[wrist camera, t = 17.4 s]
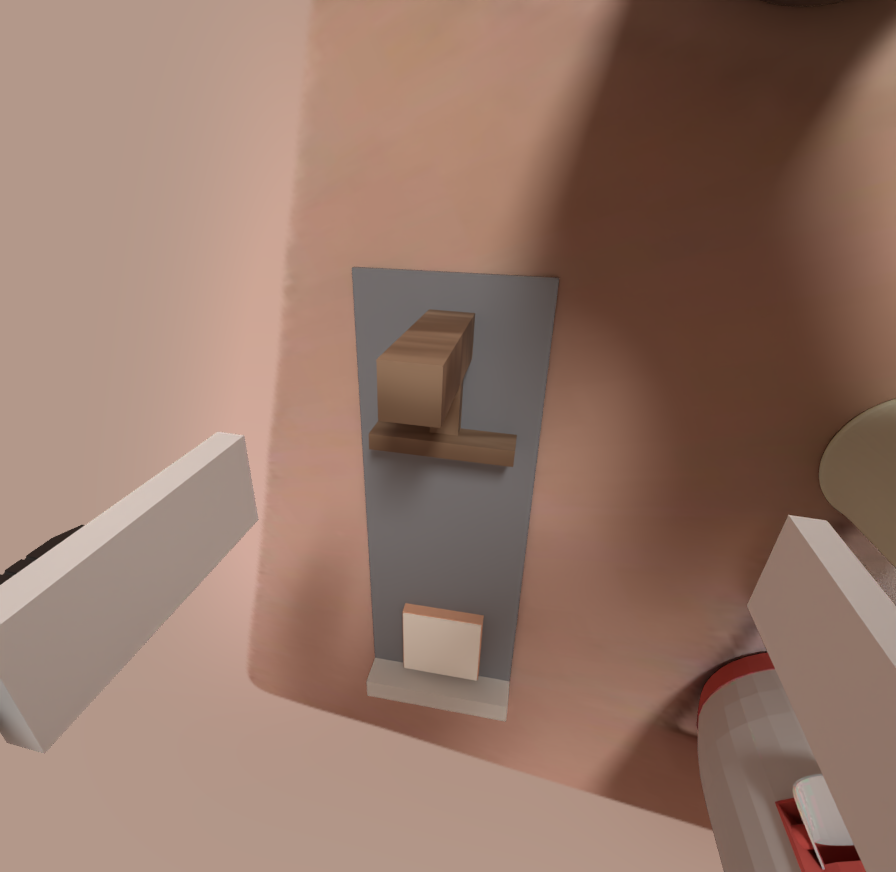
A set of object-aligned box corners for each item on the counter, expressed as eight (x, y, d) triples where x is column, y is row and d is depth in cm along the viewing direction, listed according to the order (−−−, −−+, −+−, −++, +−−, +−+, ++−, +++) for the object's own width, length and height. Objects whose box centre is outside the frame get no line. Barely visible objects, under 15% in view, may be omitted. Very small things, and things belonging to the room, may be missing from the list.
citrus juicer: (865, 593, 35) (1195, 998, 17) (897, 745, 40) (1170, 1168, 23) (644, 634, 40) (723, 976, 22) (700, 763, 46) (798, 1118, 28)
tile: (405, 603, 43) (401, 613, 42) (483, 615, 42) (482, 626, 41) (406, 657, 46) (402, 668, 45) (479, 670, 45) (477, 681, 44)
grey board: (353, 267, 31) (336, 273, 28) (558, 277, 29) (560, 285, 27) (377, 668, 48) (367, 695, 45) (508, 691, 46) (505, 721, 43)
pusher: (376, 305, 32) (301, 352, 22) (530, 317, 30) (524, 373, 20) (379, 433, 36) (318, 521, 26) (515, 449, 34) (503, 548, 25)
